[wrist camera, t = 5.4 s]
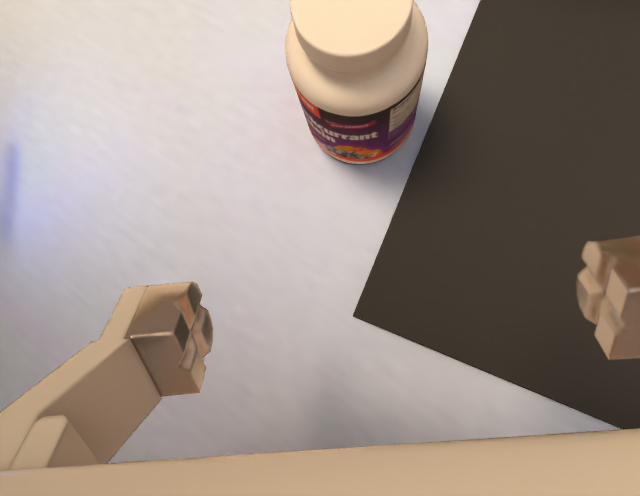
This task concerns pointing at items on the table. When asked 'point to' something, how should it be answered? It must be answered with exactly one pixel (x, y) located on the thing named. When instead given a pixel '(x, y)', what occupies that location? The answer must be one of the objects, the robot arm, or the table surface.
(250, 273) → the table surface
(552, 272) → the rubber mat
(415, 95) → the pill bottle
